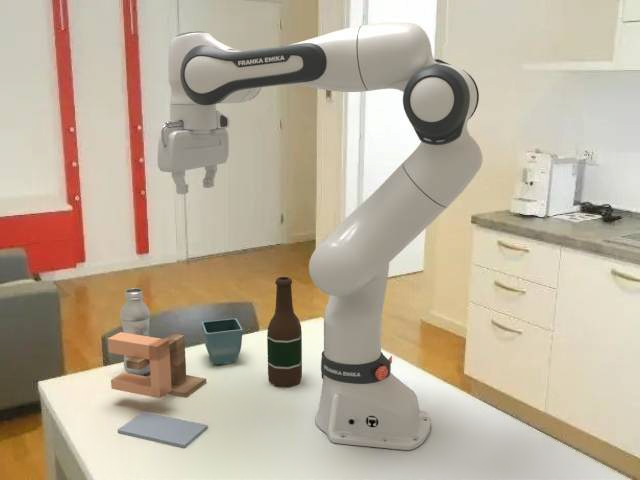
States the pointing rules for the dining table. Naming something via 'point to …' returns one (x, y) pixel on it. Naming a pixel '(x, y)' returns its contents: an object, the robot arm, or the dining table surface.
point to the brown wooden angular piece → (174, 368)
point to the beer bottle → (284, 339)
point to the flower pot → (222, 340)
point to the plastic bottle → (135, 322)
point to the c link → (144, 349)
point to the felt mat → (163, 429)
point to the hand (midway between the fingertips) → (195, 190)
